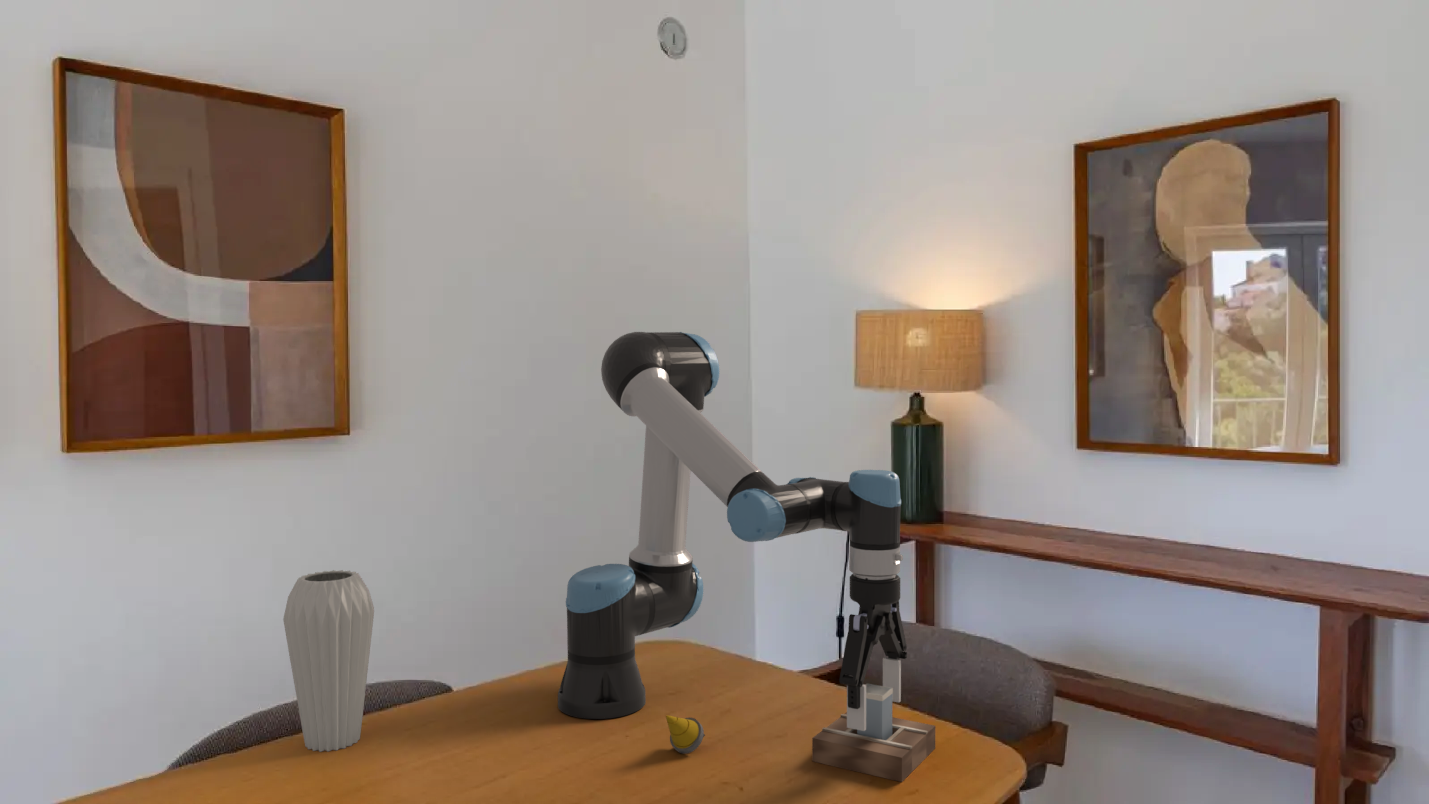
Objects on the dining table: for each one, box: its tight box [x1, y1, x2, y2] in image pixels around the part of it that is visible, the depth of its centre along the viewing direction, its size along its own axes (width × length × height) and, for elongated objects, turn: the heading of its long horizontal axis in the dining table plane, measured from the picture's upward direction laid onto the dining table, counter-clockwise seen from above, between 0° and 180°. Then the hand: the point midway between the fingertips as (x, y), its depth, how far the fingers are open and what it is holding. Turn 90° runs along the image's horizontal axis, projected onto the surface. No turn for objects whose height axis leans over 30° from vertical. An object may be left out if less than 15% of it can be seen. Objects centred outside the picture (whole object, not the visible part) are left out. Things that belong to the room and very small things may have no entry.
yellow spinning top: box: [665, 715, 706, 755], centre depth 149 cm, size 5×5×10 cm
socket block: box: [811, 711, 936, 783], centre depth 148 cm, size 14×14×4 cm
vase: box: [282, 569, 375, 753], centre depth 154 cm, size 13×13×26 cm
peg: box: [857, 683, 893, 740], centre depth 148 cm, size 4×4×10 cm
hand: (874, 714), depth 148 cm, fingers open, 13 cm apart
